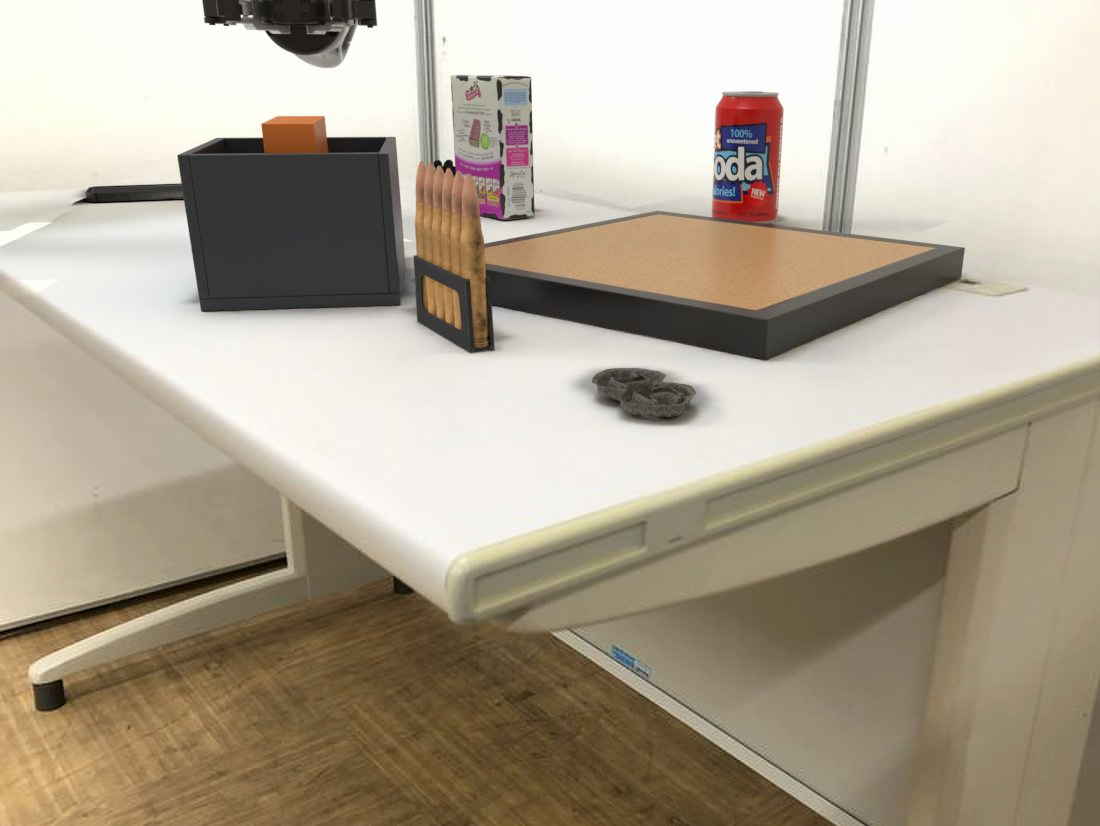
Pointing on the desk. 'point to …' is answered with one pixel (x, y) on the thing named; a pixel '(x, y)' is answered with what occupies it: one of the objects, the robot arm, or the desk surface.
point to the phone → (134, 192)
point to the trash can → (294, 224)
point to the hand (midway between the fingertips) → (282, 7)
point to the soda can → (747, 156)
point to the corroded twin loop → (644, 391)
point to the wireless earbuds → (445, 166)
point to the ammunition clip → (451, 260)
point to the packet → (295, 134)
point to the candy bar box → (495, 141)
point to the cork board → (713, 278)
